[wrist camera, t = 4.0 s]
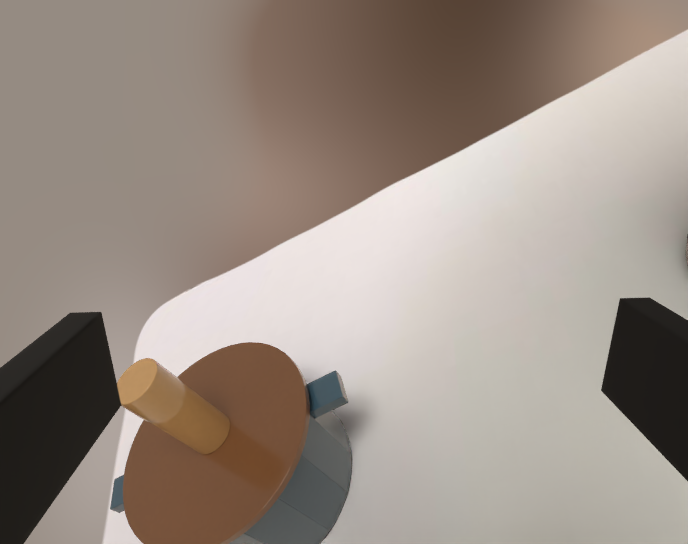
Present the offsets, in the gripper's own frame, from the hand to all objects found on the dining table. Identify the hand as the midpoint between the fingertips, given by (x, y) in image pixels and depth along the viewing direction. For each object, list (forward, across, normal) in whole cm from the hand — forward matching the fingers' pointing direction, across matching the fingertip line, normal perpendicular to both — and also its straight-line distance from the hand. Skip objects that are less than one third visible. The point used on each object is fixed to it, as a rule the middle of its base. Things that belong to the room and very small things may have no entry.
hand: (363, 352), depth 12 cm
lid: (+18, -10, -17) cm, 26 cm away
